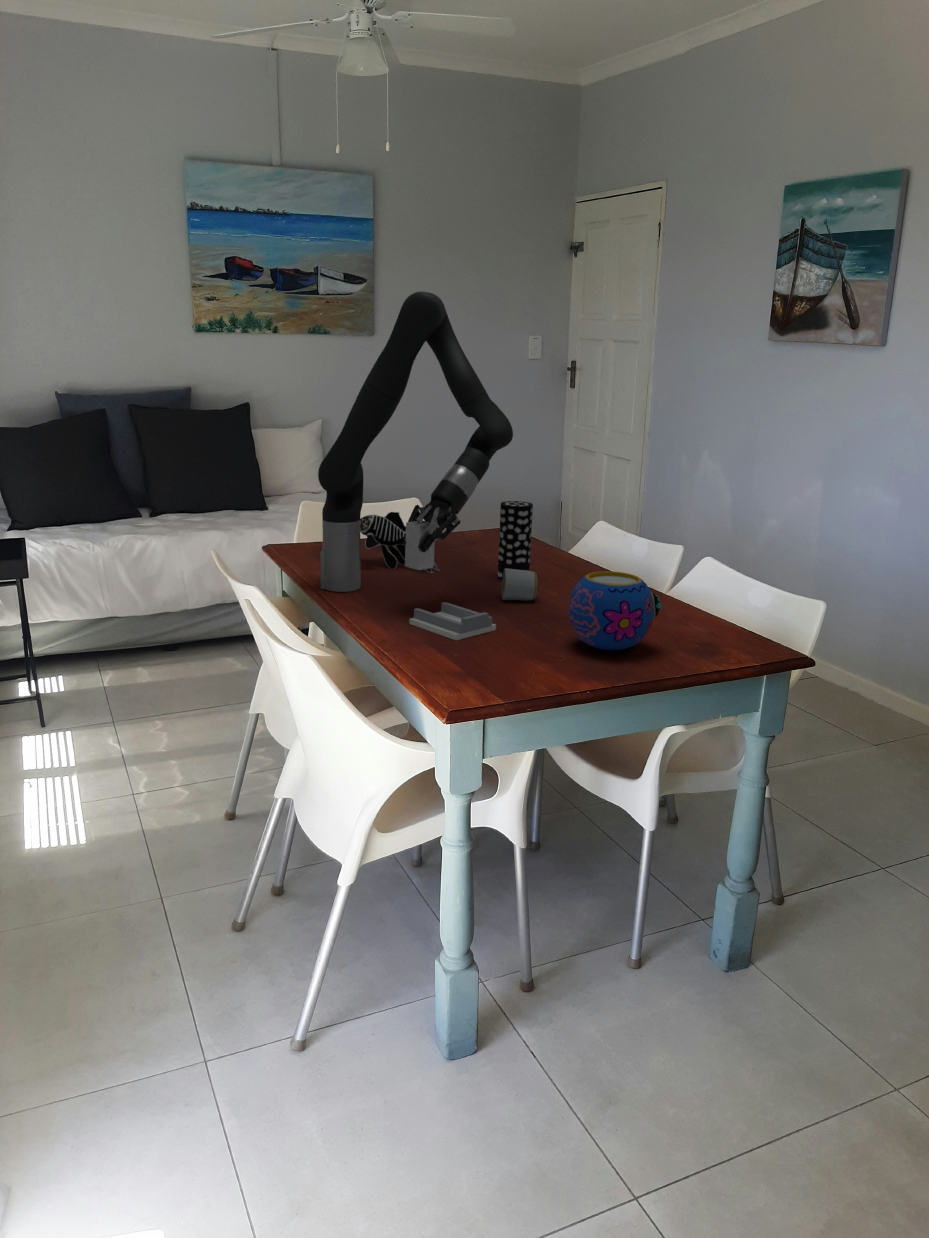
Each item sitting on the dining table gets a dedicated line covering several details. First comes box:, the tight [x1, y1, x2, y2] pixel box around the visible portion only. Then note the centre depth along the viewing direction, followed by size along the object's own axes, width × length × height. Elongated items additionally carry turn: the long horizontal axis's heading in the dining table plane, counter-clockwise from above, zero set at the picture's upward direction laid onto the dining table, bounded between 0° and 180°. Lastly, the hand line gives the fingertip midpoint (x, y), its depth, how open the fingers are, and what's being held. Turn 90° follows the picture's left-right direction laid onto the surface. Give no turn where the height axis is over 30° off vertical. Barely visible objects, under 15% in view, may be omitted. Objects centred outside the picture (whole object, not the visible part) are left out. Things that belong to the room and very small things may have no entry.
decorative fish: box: [360, 511, 451, 574], centre depth 262 cm, size 16×26×15 cm, turn 65°
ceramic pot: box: [568, 570, 662, 652], centre depth 200 cm, size 18×18×15 cm
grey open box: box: [408, 601, 497, 641], centre depth 212 cm, size 15×12×4 cm
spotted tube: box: [496, 500, 534, 582], centre depth 252 cm, size 8×8×20 cm
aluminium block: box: [404, 520, 436, 571], centre depth 217 cm, size 5×5×10 cm
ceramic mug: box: [501, 568, 538, 602], centre depth 237 cm, size 11×8×8 cm
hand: (413, 547), depth 216 cm, fingers closed on aluminium block, 4 cm apart
